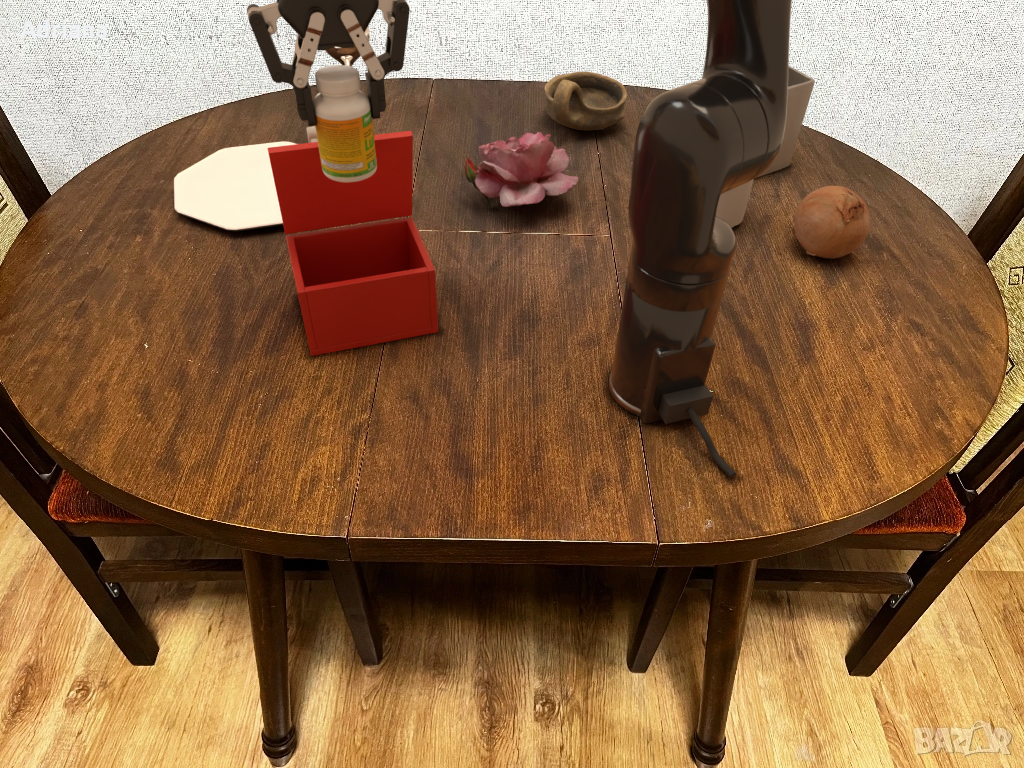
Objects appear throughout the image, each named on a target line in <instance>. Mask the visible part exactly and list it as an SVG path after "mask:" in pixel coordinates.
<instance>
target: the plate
mask: <svg viewBox="0 0 1024 768" xmlns="http://www.w3.org/2000/svg"><path fill="white" fill-rule="evenodd" d="M295 144H296V143H295V142H291V141H283V140H282V141H276V142H275V141H273V142H267V143H257V144H256V143H255V144H248V145H241V146H240V145H239V146H232V147H224V148H222V149H219V150H217V151H215V152H212V153H211V154H210V155H208V156H206V157H205V158H203V159H201V160H198V162H196V163H194V164H192V165H190V166H189V167H187V168H185V169H184V170H182V171H180V172H178V173H177V174H176V176H175V177H174V178H173V196H174V197H173V199H174V211H175V212H176V213H177V214H178V215H181V216H184V217H187V218H190V219H192V220H195V221H198V222H201V223H205V224H206V225H207V224H208V225H210V226H212V227H216V228H219V229H222V230H224V231H226V232H227V231H228V232H242V231H243V232H244V231H250V230H256V229H264V228H271V227H277V226H283V221H282V216H281V211H280V207H279V202H278V197H277V192H276V187H275V183H274V178H273V173H272V168H271V163H270V158H269V154H268V149H267V148H270V147H279V146H287V145H295Z"/></svg>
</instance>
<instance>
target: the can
mask: <svg viewBox="0 0 1024 768" xmlns="http://www.w3.org/2000/svg"><path fill="white" fill-rule="evenodd" d="M754 181H755V179H753V180H751V181H749V182H747V183H745V184H743V185H740V186H738V187H736V188H734V189H731V190H729V191H727V192H725V193H723V194H721V195H720V198H719V202H718V207H717V212H716V216H718V217H720V218H721V219H723V220H724V221H725V222H726V223H728V225H729V226H730V227H731V228H732V229H733V228H735V226H737V225H740V224H742V222H743V221H744V217H745V214H746V210H747V206H748V202H749V199H750V196H751V193H752V192H751V191H752V188H753V184H754Z"/></svg>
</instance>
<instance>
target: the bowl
mask: <svg viewBox="0 0 1024 768" xmlns="http://www.w3.org/2000/svg"><path fill="white" fill-rule="evenodd" d="M544 95H545V97H546V98H545V110H546V112H547V114H548V116H549V117H550V118H551V119H552V120H553V121H554V122H555V123H558V124H559V125H562V126H563V127H566V128H570V129H574V130H577V131H587V132H588V131H598V130H599V131H600V130H604V129H606V128H609V127H610V126H613V125H615V124H617V123H619V122H620V121H622V120H624V118H625V103H626V100H627V98H628V92H627V90H626V87H625V85H623V83H622V82H620V81H619V80H617V79H615V78H613V77H610V76H608V75H603V74H601V73H597V72H593V71H585V70H584V71H575V72H568V73H564V74H557V75H555V76H553V77H552V78H550V80H548V81H547V83H546V84H545V85H544Z"/></svg>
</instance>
